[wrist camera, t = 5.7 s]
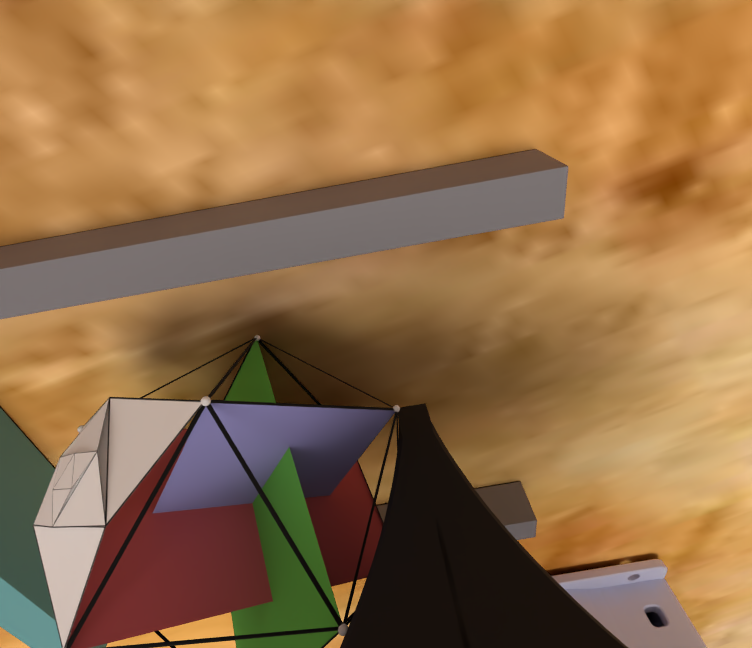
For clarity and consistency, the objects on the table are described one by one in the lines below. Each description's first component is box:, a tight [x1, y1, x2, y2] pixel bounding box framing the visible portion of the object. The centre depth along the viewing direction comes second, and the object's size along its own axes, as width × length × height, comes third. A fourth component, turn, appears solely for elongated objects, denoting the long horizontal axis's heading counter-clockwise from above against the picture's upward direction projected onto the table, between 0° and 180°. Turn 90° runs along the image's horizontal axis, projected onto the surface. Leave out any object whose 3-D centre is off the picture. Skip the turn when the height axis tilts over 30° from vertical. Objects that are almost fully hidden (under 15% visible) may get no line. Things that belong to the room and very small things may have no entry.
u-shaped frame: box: [0, 149, 568, 648], centre depth 12 cm, size 16×12×3 cm
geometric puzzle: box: [33, 335, 400, 648], centre depth 10 cm, size 7×7×8 cm
